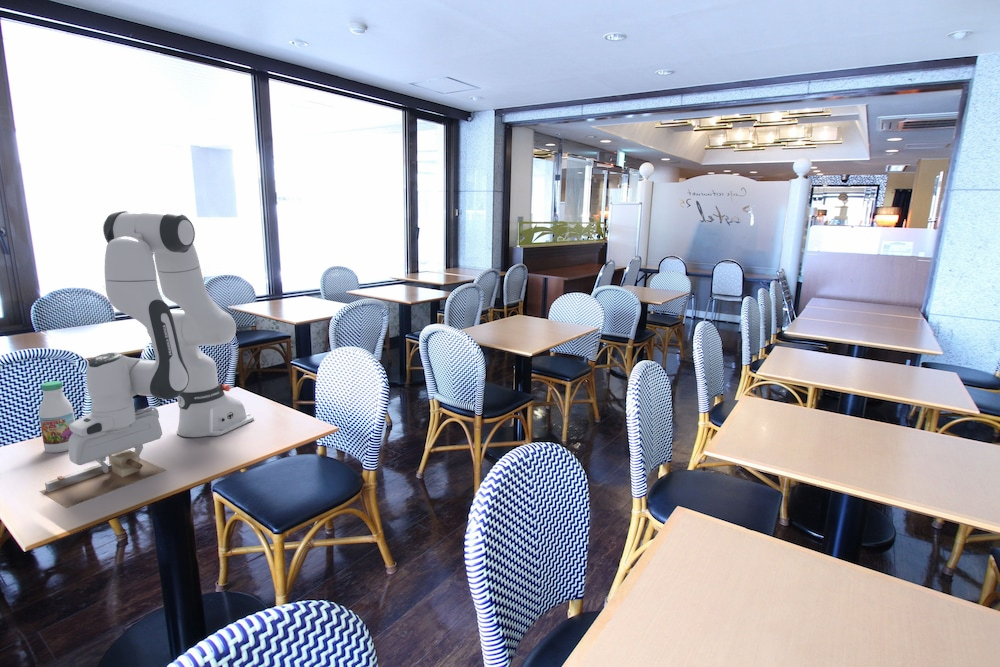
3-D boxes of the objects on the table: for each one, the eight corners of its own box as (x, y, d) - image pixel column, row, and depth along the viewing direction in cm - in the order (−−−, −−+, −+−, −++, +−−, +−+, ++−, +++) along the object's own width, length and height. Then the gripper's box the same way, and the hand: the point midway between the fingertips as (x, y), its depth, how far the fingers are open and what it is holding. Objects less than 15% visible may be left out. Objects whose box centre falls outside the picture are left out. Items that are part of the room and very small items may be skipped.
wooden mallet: (127, 465, 141) (125, 448, 140) (149, 475, 135) (147, 457, 134) (110, 471, 137) (108, 453, 136) (132, 482, 132) (130, 463, 131)
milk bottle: (46, 446, 154) (35, 381, 150) (79, 440, 158) (69, 377, 154) (43, 456, 148) (31, 388, 144) (78, 449, 152) (67, 384, 148)
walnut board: (138, 462, 146) (137, 449, 145) (166, 475, 139) (165, 462, 138) (40, 496, 127) (38, 482, 126) (67, 513, 120) (64, 498, 119)
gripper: (150, 402, 144) (157, 449, 147) (61, 427, 127) (70, 479, 130) (163, 407, 141) (169, 454, 144) (73, 433, 124) (82, 486, 127)
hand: (121, 466), depth 137 cm, fingers open, 5 cm apart
